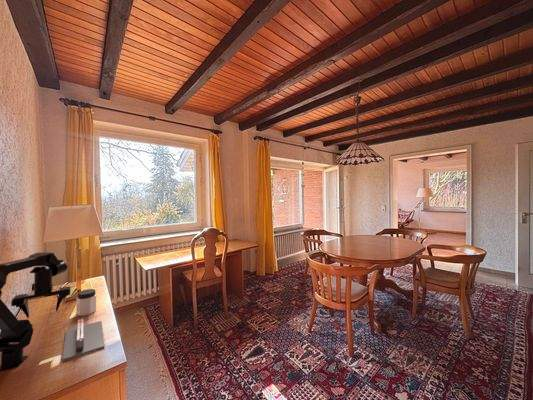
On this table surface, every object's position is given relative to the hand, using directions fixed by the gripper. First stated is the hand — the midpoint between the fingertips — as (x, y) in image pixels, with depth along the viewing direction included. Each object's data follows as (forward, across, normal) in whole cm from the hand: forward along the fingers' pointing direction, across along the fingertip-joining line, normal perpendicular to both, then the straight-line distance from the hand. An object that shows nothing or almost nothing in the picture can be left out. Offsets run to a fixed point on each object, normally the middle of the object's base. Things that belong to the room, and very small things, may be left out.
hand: (42, 314), depth 103 cm
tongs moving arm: (+12, -14, +7) cm, 20 cm away
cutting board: (+13, -15, +9) cm, 22 cm away
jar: (+13, -16, -23) cm, 31 cm away
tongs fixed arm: (+12, -13, +8) cm, 20 cm away
